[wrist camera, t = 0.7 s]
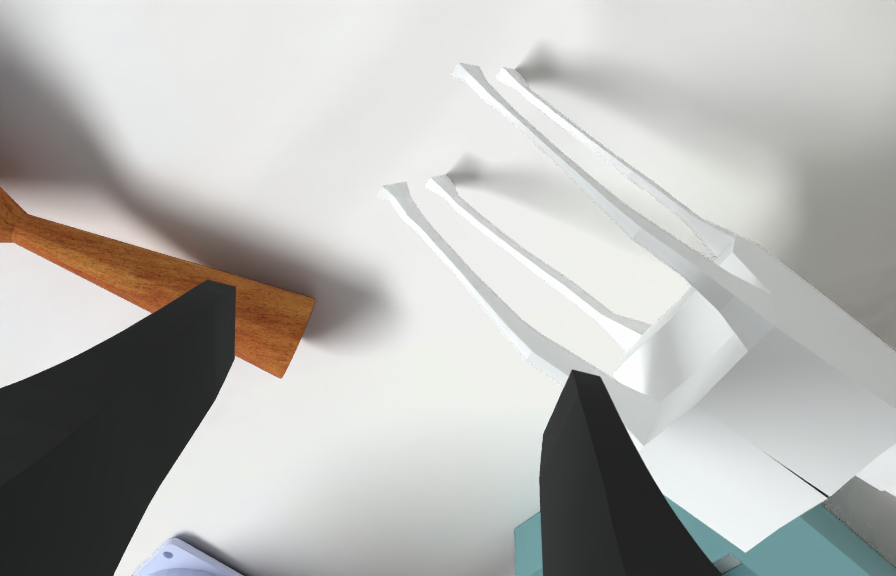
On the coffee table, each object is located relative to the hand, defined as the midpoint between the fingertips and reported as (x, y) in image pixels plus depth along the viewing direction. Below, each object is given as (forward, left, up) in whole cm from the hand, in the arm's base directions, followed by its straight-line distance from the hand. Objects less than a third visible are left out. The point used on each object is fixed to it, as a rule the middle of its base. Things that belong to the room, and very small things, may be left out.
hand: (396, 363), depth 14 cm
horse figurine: (+4, -11, -11) cm, 16 cm away
